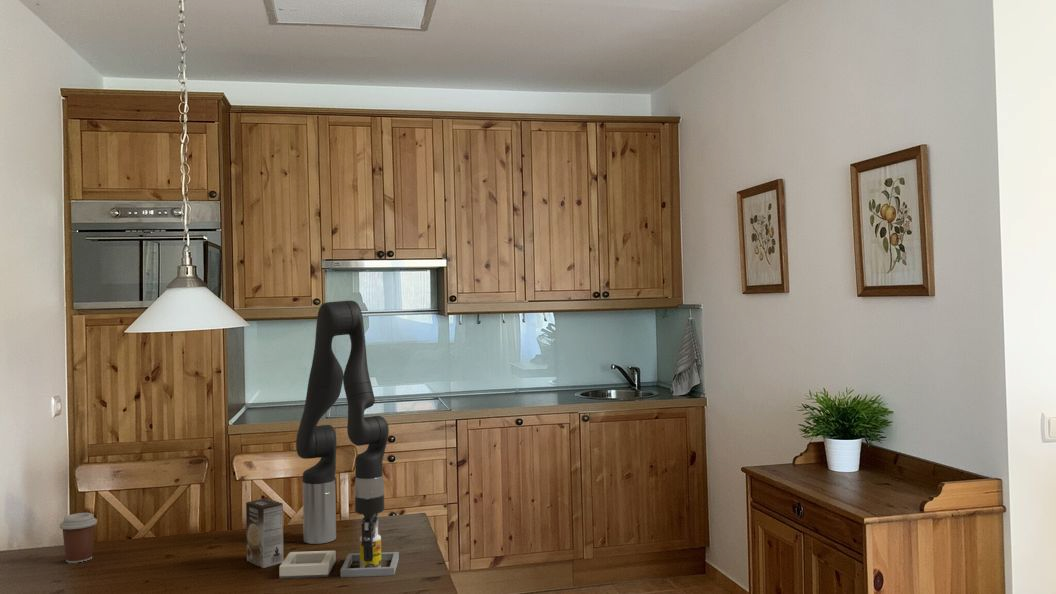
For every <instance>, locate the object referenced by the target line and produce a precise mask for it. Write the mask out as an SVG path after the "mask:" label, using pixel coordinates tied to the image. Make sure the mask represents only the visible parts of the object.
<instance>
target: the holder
mask: <svg viewBox="0 0 1056 594" xmlns="http://www.w3.org/2000/svg"><path fill="white" fill-rule="evenodd" d="M336 554H337V553H336V550H315V551H311V550H310V551H309V550H308V551H307V550H306V551H290V552H289V553H288V554H287V556H286V557H285V558H284V559H283V562H282V563H280V564H279V567H278V568H279V569H278V570H279V571H278V572H279V580H281V579H284V578H285V579H307V578H328V577H329V575H330V574H331V571H332V570H333V568H334V566H335V564H336V561H337V559H336V558H337V557H336V556H337V555H336ZM285 579H284V580H285Z"/></svg>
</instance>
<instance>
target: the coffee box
mask: <svg viewBox="0 0 1056 594" xmlns="http://www.w3.org/2000/svg"><path fill="white" fill-rule="evenodd" d="M245 509H246V512H245V514H246V515H245V520H246V524H245V525H246V562H248V561H249V563H251V564H253V565H255V566H257V567H259V566H260V568H261V569H262V568H263V569H265V568H268V567H273V566H276V565H281V564H282V562H283V561H284V503H282V502H280V501H276V500H273V499H271V498H268V497H264V498H260V499H255V500H251V501H247V502H246V503H245Z"/></svg>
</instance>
